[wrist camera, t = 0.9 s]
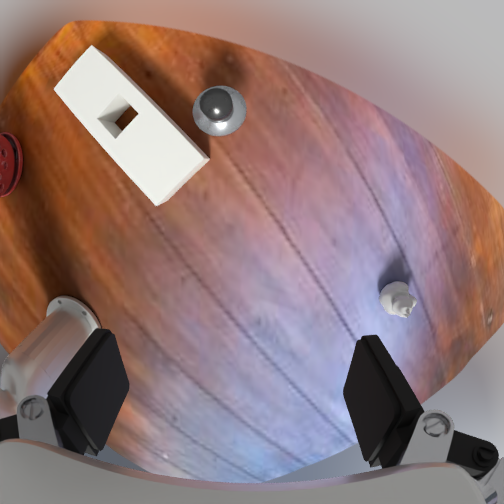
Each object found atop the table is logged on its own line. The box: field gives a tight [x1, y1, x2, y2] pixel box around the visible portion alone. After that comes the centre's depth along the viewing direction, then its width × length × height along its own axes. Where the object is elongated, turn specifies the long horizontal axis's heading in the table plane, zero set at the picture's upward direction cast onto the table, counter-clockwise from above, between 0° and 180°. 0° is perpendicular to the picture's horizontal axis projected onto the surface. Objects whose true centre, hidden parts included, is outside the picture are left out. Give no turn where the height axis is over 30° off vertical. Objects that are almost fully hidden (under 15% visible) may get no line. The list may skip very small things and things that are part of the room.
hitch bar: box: [54, 45, 210, 206], centre depth 31 cm, size 8×24×5 cm, turn 42°
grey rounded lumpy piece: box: [379, 281, 417, 317], centre depth 39 cm, size 5×7×8 cm
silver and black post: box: [193, 86, 246, 136], centre depth 29 cm, size 6×6×10 cm
